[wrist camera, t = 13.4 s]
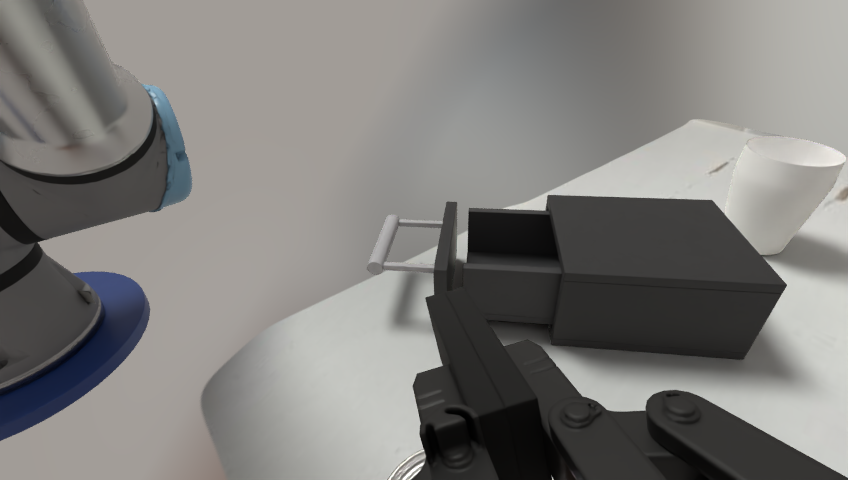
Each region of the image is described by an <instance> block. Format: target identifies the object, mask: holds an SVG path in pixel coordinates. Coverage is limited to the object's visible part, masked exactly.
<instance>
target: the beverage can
mask: <svg viewBox="0 0 848 480" xmlns="http://www.w3.org/2000/svg"><path fill="white" fill-rule="evenodd" d="M425 459H426V455H425V452H424V449H422V450H420V451H418V452H416V453H414V454H413V455H411V456H409V457H408V458H407V459H405V460H404V461H403V462H402V463H401V464H400V465H399V466H398V467H397V468H396V469H395V470H394V471H393V472H392V474H391V475H390V476H389V478H388V479H387V480H411V479H413V478H414V477H415V476H416V475H417V474H418V472H419V471H420V470H421V468H422V466H423V465H424V463H425Z"/></svg>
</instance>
